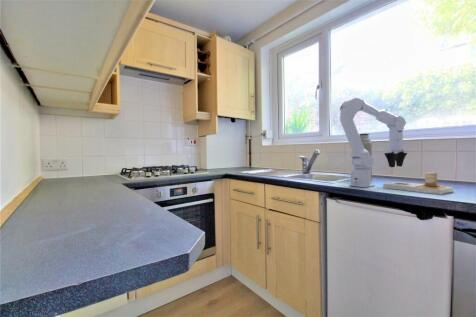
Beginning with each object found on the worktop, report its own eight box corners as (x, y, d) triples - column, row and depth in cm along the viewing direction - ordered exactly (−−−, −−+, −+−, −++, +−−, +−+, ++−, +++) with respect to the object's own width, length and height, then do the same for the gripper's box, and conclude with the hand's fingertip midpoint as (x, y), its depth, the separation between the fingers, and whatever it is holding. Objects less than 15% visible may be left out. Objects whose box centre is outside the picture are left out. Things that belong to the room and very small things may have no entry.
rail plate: (441, 194, 92) (441, 188, 92) (383, 187, 111) (383, 182, 111) (452, 191, 98) (452, 186, 98) (395, 185, 117) (395, 181, 117)
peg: (434, 192, 97) (434, 173, 97) (423, 191, 100) (423, 172, 100) (438, 191, 99) (438, 172, 99) (427, 190, 102) (427, 172, 102)
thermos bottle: (368, 181, 133) (368, 133, 133) (354, 180, 140) (354, 133, 139) (374, 180, 138) (374, 133, 137) (360, 179, 145) (360, 134, 144)
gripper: (397, 139, 111) (397, 167, 111) (411, 140, 118) (411, 166, 119) (382, 140, 117) (381, 167, 117) (396, 140, 124) (396, 165, 125)
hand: (395, 166), depth 118 cm, fingers open, 7 cm apart
